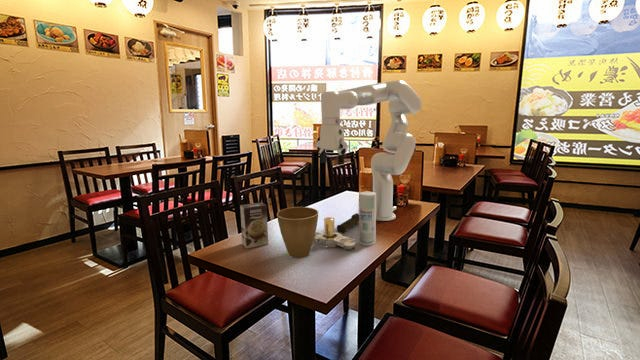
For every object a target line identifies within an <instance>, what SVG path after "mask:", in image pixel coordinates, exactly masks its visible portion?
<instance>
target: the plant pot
mask: <svg viewBox="0 0 640 360" xmlns="http://www.w3.org/2000/svg"><path fill="white" fill-rule="evenodd" d="M276 216H277V217H276V218H277V223H278V227H279V230H280V234H281V238H282V240H283V244H284V246H285V248H286V251H287V252H288V255H289V256H290V257H291V258H293V259H302V258H306V257H308V256H310V253H311V250H312V247H313V244H314V237H315V233H316V232H317V228H318V227H317V226H318V221H319V220H318V219H319V211H318V210H317V209H315V208H313V207H309V206H292V207H287V208H284V209H283V208H282V209H281V210H278V211H277V213H276Z"/></svg>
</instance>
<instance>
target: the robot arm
mask: <svg viewBox="0 0 640 360" xmlns="http://www.w3.org/2000/svg"><path fill="white" fill-rule="evenodd" d="M387 101H388V105H387V106H388V111H389V114H390V117H391V122H390V125H389V127H388V130H387V132H386V134H385V136H384V139H383V141H382V145H381V146H382V149H383V150H384V151H386V152H383V151H382V152H377V153H375V154H373V155H372V157H371V159H370V168H371V172H372V174H371V175H372V192H375V193H376V221H381V222H382V221H383V222H385V221H387V222H388V221H393V220H395V219H396V217H397V216H396V214H395V213H394V211H397V206H395V205H394V206H393V203H394V201H393V197H394V196H393V195H394V180H393V177H392V175H395V176H399V175H400V176H401V175H402V174H403V173H404V172H405V171H406V169H407V168H408V166H409V163H410V160H411V159H412V156H413V154H414V152H415V149H416V139H415V137H414V136H413V134H411V133H407V132H408V129H409V121H408V119H407V117H406V115H414V114H418V113H419V112H420V111H421V110H422V107H423V102H422V98H421V97H420V96H419V94H417V93H416V91H415V90H414V89H413V88H412V87H411V86H410V85H409V84H408V83H406V82H405V81H404V80H401V79H399V80H390V81H389V80H388V81H383V82H377V83H372V84H367V85H363V86H358V87H355V88H354V87H353V88H348V89H343V90H337V91H334V90H333V91H331V90H330V91H323V92H322V93H321V95H320V104H321V105H320V109H321V110H320V111H321V126H320V131H319V132H320V133H319V140H318V141H316V142H315V146H316V150H317V152H318V153H319V158H320V159H319V160H320V161H319V162H320V163H321V164H324V163H327V153H326V152H327V151H336V152H337V153H338V155H337V165H338V166H342V165H344V164H345V155H346V153H347V152H348V149H349V146H350V145H349V143H348V142H346V141H345V135H344V129H343V126H342V125H341V123H342V122H343V121H342V119H341V110H351V109H354V108H356V107H358V106H371V105H374V104H378V103H384V102H387Z"/></svg>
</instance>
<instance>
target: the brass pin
mask: <svg viewBox="0 0 640 360" xmlns="http://www.w3.org/2000/svg"><path fill="white" fill-rule="evenodd" d="M323 222H324V223H323V227H324V228H323V230H324V231H323V233H324V237H325V238H335V234H334V232H335V218H334V217H329V216H328V217H327V216H326V217H324V219H323Z"/></svg>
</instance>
